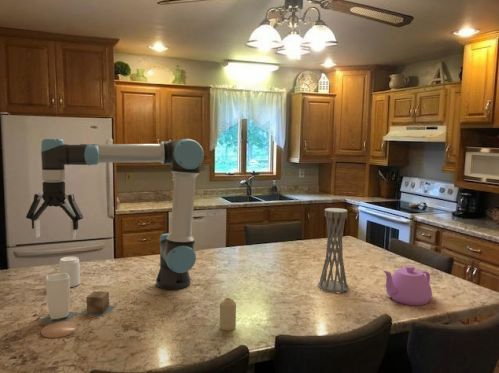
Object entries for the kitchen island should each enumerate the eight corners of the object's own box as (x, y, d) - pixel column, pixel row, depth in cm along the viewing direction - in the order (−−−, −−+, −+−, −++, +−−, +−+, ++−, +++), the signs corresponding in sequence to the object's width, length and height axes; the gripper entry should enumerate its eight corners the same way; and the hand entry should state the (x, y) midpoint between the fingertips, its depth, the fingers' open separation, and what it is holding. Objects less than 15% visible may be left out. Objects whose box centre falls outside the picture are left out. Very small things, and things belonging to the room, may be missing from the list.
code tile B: (117, 307, 159) (117, 306, 159) (102, 317, 149) (102, 316, 149) (94, 304, 161) (94, 303, 161) (78, 314, 151) (78, 313, 151)
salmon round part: (84, 324, 142) (84, 323, 142) (63, 339, 132) (63, 337, 132) (56, 321, 145) (56, 319, 145) (33, 335, 134) (33, 333, 134)
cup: (49, 322, 143) (47, 281, 142) (46, 315, 150) (45, 275, 148) (71, 318, 147) (70, 278, 146) (68, 311, 153) (67, 272, 152)
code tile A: (79, 313, 152) (79, 312, 152) (62, 325, 143) (62, 324, 143) (56, 311, 154) (56, 309, 154) (37, 322, 145) (37, 321, 145)
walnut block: (109, 306, 158) (108, 291, 157) (102, 313, 152) (102, 297, 151) (93, 306, 158) (93, 291, 158) (86, 312, 152) (86, 297, 152)
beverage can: (72, 289, 176) (71, 261, 175) (55, 287, 178) (55, 260, 177) (83, 282, 184) (83, 256, 183) (67, 281, 186) (66, 255, 185)
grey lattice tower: (354, 287, 184) (357, 210, 180) (338, 295, 174) (341, 213, 171) (328, 280, 193) (330, 206, 190) (311, 287, 184) (314, 209, 180)
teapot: (413, 288, 185) (415, 258, 183) (445, 302, 168) (448, 270, 167) (368, 295, 175) (369, 263, 174) (397, 311, 159) (399, 276, 157)
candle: (219, 323, 145) (219, 296, 144) (235, 323, 145) (235, 296, 144) (219, 331, 140) (220, 302, 138) (236, 330, 140) (236, 302, 139)
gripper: (91, 180, 155) (92, 236, 157) (26, 179, 155) (28, 234, 157) (83, 182, 147) (84, 241, 149) (14, 181, 148) (16, 239, 150)
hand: (55, 237), depth 153 cm, fingers open, 13 cm apart
